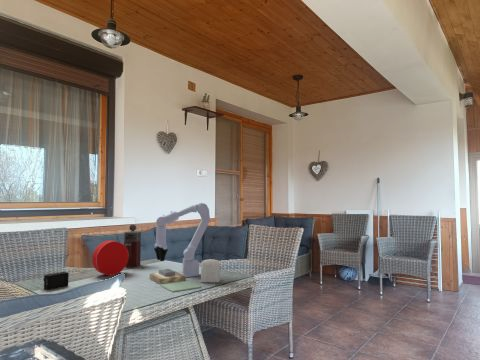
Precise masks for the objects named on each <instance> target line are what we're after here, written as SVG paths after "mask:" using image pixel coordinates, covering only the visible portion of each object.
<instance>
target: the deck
mask: <svg viewBox="0 0 480 360" xmlns="http://www.w3.org/2000/svg"><path fill="white" fill-rule="evenodd" d="M174 271H175V275H173V276H163V275H161V274H159V272H153V273H152V272H151V273H149V278H148V279H149V280H150V279H151V280H150V281H152V282H154V283H156V284H157V285H159V286H160V284H165V283H172V282H179V281H187V277H186V276H185V275H183V274H182V273H181V272H178V271H176V270H174Z"/></svg>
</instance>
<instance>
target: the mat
mask: <svg viewBox="0 0 480 360" xmlns="http://www.w3.org/2000/svg"><path fill="white" fill-rule="evenodd" d="M159 286H160V287H162V288H164V290H165V289H166V290H168V291H169V292H171V293H176V292H181V291H188V290H190V291H191V290H195V289H201V288H202V286H201V285H198V284H196V283H194V282H192V281H190V280H187V279H186V281H179V282H172V283H165V284H160V285H159Z"/></svg>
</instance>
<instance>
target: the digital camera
mask: <svg viewBox="0 0 480 360" xmlns="http://www.w3.org/2000/svg"><path fill="white" fill-rule="evenodd" d="M69 275H70V273H69V272H67V271H60V272H54V273H46V274H44V276H43V289H44V290H47V291H50V290H56V289H59V288H64V287H68V286H69V277H70V276H69Z"/></svg>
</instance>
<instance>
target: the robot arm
mask: <svg viewBox="0 0 480 360" xmlns="http://www.w3.org/2000/svg"><path fill="white" fill-rule="evenodd" d="M190 213H198V214H199V216H200V218H201V219H200V222H199V224H198V227H197V229H196V231H195V232H194V235H193V237H192V239H191V240H190V242H189V244H188V246H187V247H186V248H184V250H183V253H182V254H183V259H182V273H181V274H183V275H185V276H186V278H190V277H191V278H192V277H198V276H200V263H199V260H197V259H195V253H196V250H197V248H198V245H199V244H200V242H201V240H202V237H203V236H204V234H205V231H206V230H207V228H208V226H209V223H210V221H211V216H210V208H209V207H208V205H207V203H203V202H199V203H197V204H193V205H190V206H188V207H185V208H183V209H181V210H179V211H175V210H174V211H173V210H171V211H170V212H169V213H167V214H162V216H159V217H158V218H156V222H155V224H156V229H155V232H156V233H155V243H154V245H153V247H154V248H153V250H154V252H155V255H156V260H157V261H160V262H164V261H165V260H166V259H165V258H166V254H167V252H168V250H169V249H168V245H167V227H166V226H167V224H168V225H169V224H172V223H174V222H176V221H178V220H179V218H180V217H183V216H185V215H188V214H190Z"/></svg>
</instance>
